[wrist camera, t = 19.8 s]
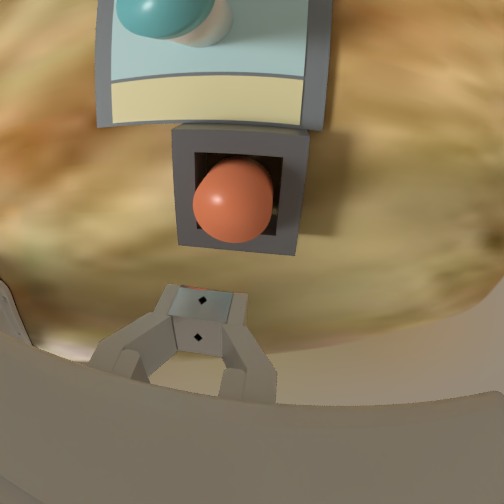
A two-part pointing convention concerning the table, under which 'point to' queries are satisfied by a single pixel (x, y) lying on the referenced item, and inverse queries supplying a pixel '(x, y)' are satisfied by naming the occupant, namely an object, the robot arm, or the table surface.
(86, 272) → the table surface
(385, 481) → the robot arm
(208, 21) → the teal-capped bottle
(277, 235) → the button housing
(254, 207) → the button
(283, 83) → the colour chart
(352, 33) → the table surface
